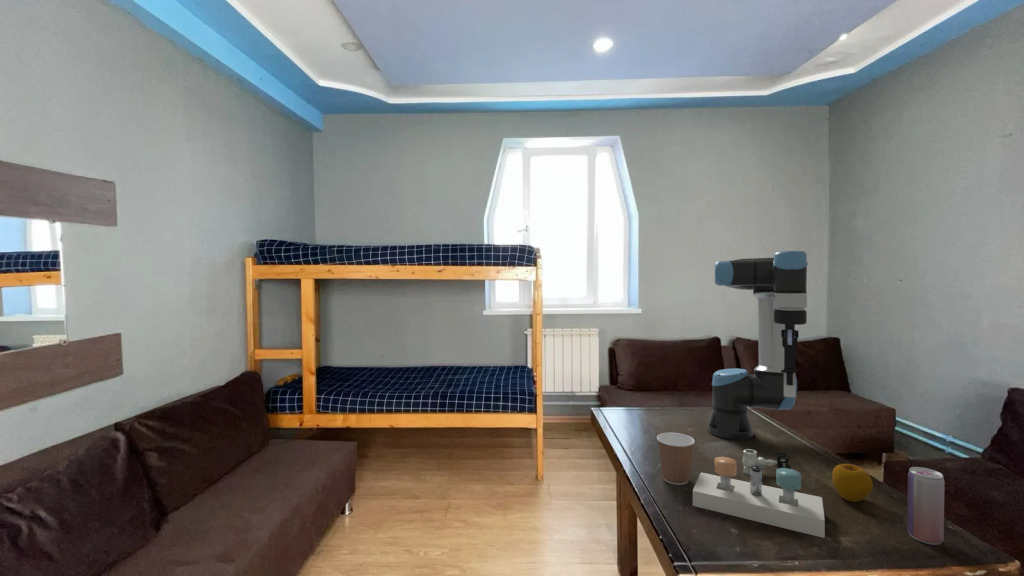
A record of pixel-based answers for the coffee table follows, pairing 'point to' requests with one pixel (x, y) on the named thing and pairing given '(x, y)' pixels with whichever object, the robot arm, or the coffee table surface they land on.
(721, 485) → the knob terracotta
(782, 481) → the knob teal
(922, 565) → the coffee table surface
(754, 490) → the pot post
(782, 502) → the mount board
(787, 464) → the valve
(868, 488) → the apple
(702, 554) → the coffee table surface
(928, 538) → the beverage can
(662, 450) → the coffee cup
